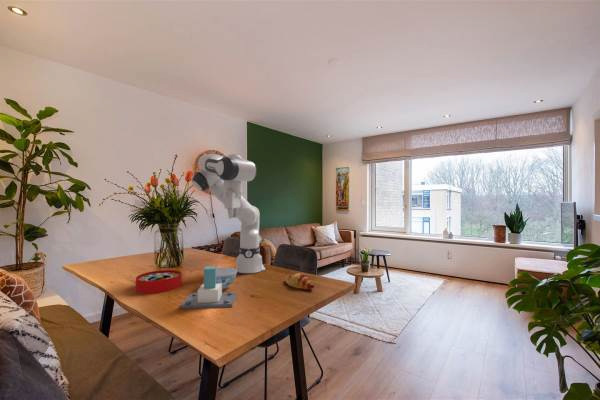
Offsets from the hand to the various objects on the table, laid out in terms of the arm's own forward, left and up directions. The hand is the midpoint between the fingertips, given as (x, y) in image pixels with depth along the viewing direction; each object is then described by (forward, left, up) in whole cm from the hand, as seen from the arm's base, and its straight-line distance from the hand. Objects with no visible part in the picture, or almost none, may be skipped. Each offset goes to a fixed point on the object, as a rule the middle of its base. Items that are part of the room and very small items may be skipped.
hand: (232, 218), depth 128 cm
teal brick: (+16, -7, -28) cm, 33 cm away
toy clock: (-7, -36, -34) cm, 50 cm away
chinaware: (-3, -6, -34) cm, 35 cm away
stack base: (+16, -7, -34) cm, 38 cm away
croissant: (-2, +32, -34) cm, 47 cm away
